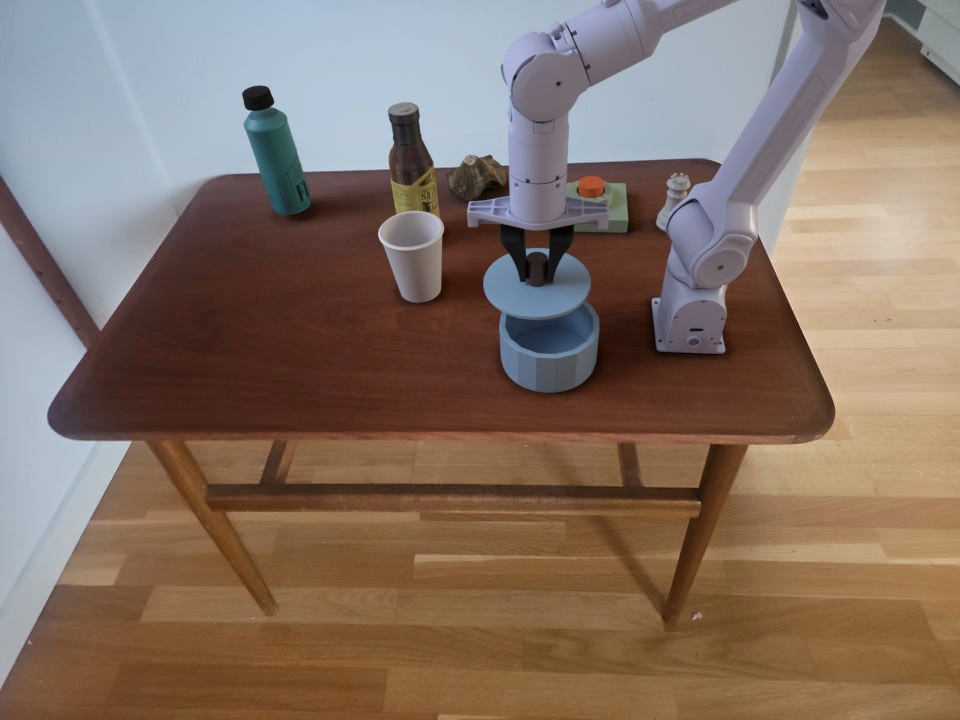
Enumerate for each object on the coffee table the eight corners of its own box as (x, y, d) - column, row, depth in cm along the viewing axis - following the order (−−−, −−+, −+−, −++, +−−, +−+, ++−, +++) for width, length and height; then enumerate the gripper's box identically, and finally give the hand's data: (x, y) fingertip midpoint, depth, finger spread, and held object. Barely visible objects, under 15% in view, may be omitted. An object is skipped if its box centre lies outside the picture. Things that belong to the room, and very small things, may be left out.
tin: (596, 395, 74) (599, 360, 70) (497, 390, 76) (495, 355, 71) (595, 326, 82) (598, 291, 78) (505, 323, 83) (504, 288, 79)
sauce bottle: (436, 251, 95) (419, 122, 80) (395, 248, 96) (371, 120, 81) (446, 225, 99) (432, 99, 85) (407, 223, 100) (386, 97, 86)
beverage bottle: (310, 223, 102) (273, 99, 87) (269, 224, 102) (225, 101, 88) (318, 200, 106) (284, 78, 92) (279, 201, 106) (238, 80, 92)
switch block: (626, 232, 95) (629, 209, 92) (551, 231, 96) (552, 208, 94) (624, 195, 102) (626, 172, 99) (554, 194, 103) (554, 172, 100)
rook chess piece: (678, 238, 94) (687, 189, 88) (650, 228, 96) (657, 180, 90) (691, 222, 96) (701, 174, 90) (663, 213, 98) (672, 166, 92)
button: (602, 199, 95) (603, 189, 94) (578, 199, 96) (578, 188, 94) (602, 186, 98) (603, 175, 96) (578, 185, 98) (579, 175, 97)
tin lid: (591, 325, 69) (593, 295, 66) (478, 322, 71) (476, 292, 68) (589, 256, 78) (592, 226, 75) (489, 254, 79) (487, 224, 76)
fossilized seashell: (496, 156, 108) (441, 178, 107) (497, 135, 101) (437, 158, 101) (514, 194, 106) (458, 217, 106) (516, 176, 100) (456, 199, 99)
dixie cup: (379, 300, 88) (365, 240, 81) (408, 264, 93) (398, 205, 86) (433, 315, 85) (424, 254, 78) (460, 277, 90) (454, 217, 83)
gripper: (611, 148, 65) (601, 256, 75) (469, 148, 67) (477, 253, 77) (614, 186, 60) (602, 296, 70) (461, 185, 62) (470, 292, 72)
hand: (537, 276), depth 73 cm, fingers closed on tin lid, 2 cm apart
